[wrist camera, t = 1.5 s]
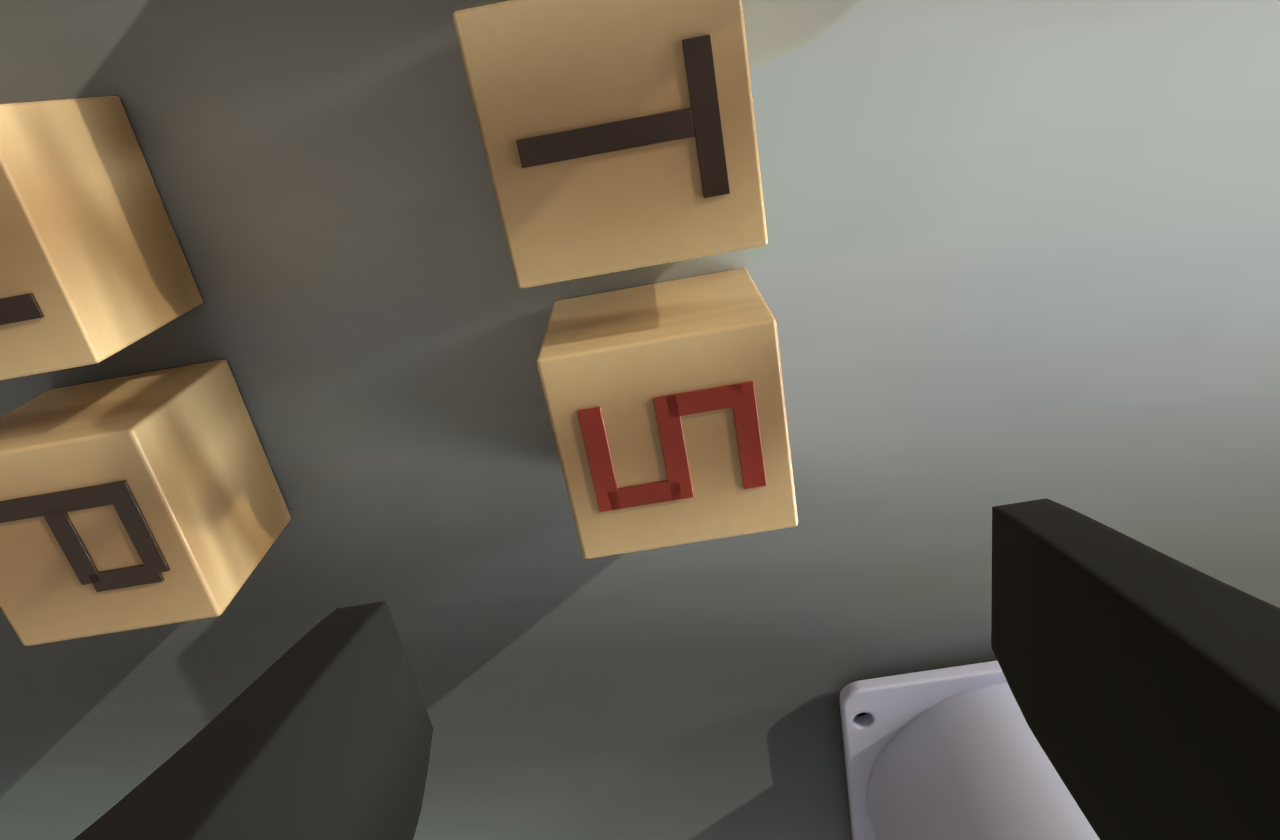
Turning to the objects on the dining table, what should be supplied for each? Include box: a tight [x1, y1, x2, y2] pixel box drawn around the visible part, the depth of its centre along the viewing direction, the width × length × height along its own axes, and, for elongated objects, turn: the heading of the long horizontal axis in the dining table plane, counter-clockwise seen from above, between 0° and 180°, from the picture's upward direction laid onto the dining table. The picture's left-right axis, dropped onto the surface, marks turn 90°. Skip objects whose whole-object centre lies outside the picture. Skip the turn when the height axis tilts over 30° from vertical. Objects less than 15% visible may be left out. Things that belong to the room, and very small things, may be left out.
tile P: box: [0, 360, 291, 646], centre depth 16 cm, size 4×4×4 cm
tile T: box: [452, 0, 768, 288], centre depth 13 cm, size 4×4×4 cm
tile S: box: [537, 268, 798, 559], centre depth 16 cm, size 4×4×4 cm
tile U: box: [0, 96, 203, 381], centre depth 14 cm, size 4×4×4 cm
